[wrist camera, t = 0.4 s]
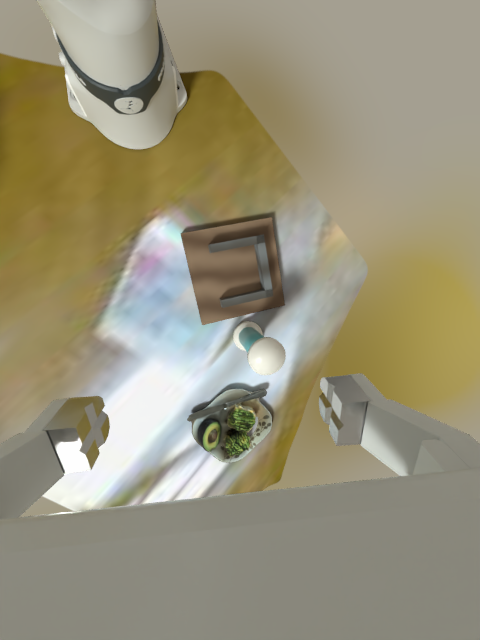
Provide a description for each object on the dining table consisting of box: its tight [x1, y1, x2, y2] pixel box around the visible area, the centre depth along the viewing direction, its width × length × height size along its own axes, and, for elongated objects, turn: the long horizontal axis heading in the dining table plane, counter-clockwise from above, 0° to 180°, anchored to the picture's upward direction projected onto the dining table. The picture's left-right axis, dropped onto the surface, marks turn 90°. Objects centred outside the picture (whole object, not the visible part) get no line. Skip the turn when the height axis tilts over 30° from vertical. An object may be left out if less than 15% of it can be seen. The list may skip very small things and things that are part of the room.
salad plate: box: [187, 389, 272, 463], centre depth 60 cm, size 19×18×5 cm
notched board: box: [181, 217, 285, 325], centre depth 52 cm, size 18×18×4 cm
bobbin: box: [233, 321, 285, 375], centre depth 51 cm, size 6×6×14 cm
